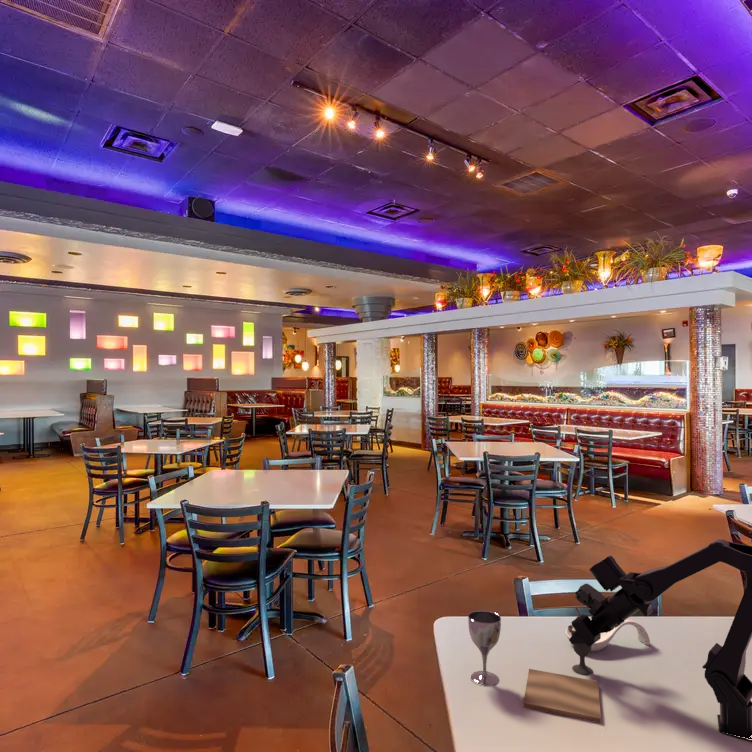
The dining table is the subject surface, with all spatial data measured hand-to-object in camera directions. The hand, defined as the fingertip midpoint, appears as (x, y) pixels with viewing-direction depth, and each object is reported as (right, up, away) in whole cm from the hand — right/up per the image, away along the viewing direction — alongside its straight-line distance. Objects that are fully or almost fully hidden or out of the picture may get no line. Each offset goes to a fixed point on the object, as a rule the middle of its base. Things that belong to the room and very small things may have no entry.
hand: (576, 637), depth 135 cm
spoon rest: (+14, -9, +13) cm, 21 cm away
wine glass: (-25, -7, -6) cm, 27 cm away
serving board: (-9, -7, -13) cm, 17 cm away
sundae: (+1, -8, -1) cm, 8 cm away
